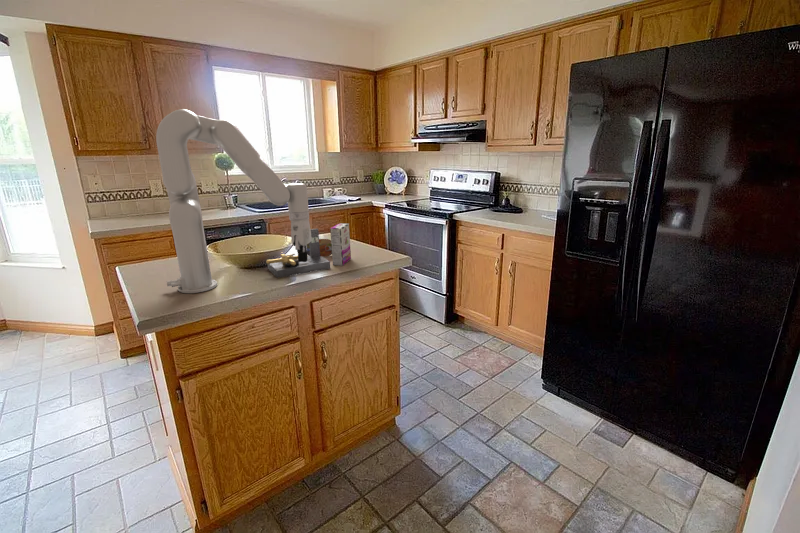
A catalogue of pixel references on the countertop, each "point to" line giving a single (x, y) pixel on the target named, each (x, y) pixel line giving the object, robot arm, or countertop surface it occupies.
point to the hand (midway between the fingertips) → (303, 261)
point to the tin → (323, 248)
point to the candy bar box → (340, 244)
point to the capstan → (285, 260)
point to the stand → (310, 265)
